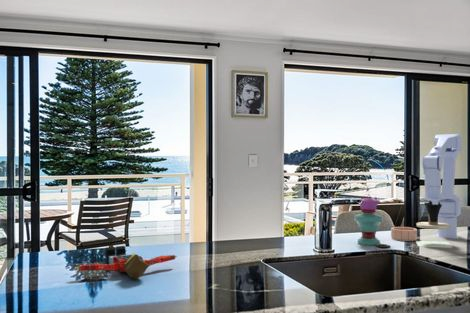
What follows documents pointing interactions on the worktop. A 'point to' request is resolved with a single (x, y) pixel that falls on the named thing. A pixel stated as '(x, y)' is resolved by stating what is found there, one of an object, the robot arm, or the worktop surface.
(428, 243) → the mat
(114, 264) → the toy
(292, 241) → the worktop surface
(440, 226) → the lid
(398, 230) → the bowl
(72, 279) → the worktop surface
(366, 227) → the toy
